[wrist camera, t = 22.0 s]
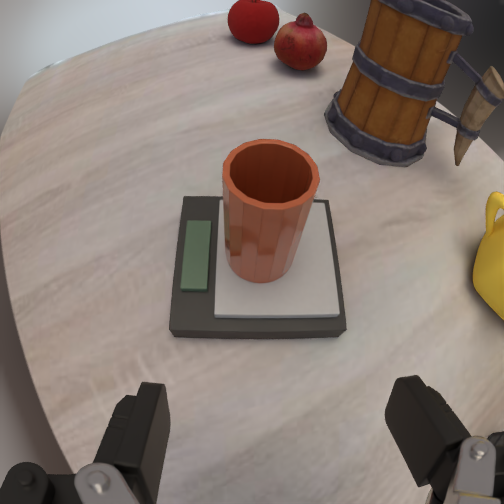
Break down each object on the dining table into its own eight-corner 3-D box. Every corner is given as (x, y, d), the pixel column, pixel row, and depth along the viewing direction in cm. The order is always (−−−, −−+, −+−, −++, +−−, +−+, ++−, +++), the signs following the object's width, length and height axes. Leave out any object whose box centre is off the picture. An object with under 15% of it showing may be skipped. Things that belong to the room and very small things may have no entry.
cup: (224, 283, 23) (220, 208, 16) (226, 223, 26) (224, 137, 18) (296, 283, 24) (325, 211, 16) (291, 224, 26) (312, 141, 18)
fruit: (329, 67, 46) (340, 16, 37) (310, 85, 42) (321, 26, 33) (285, 53, 47) (291, 2, 39) (262, 69, 44) (266, 12, 35)
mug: (463, 157, 37) (525, 48, 20) (435, 212, 32) (528, 70, 14) (355, 87, 43) (386, -27, 26) (302, 121, 38) (330, -30, 20)
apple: (216, 40, 49) (216, -7, 40) (246, 28, 53) (249, -15, 44) (258, 53, 47) (262, 1, 38) (286, 40, 50) (292, -6, 42)
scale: (174, 336, 24) (166, 326, 22) (186, 210, 30) (182, 190, 27) (338, 337, 25) (350, 326, 22) (323, 213, 31) (330, 194, 28)
